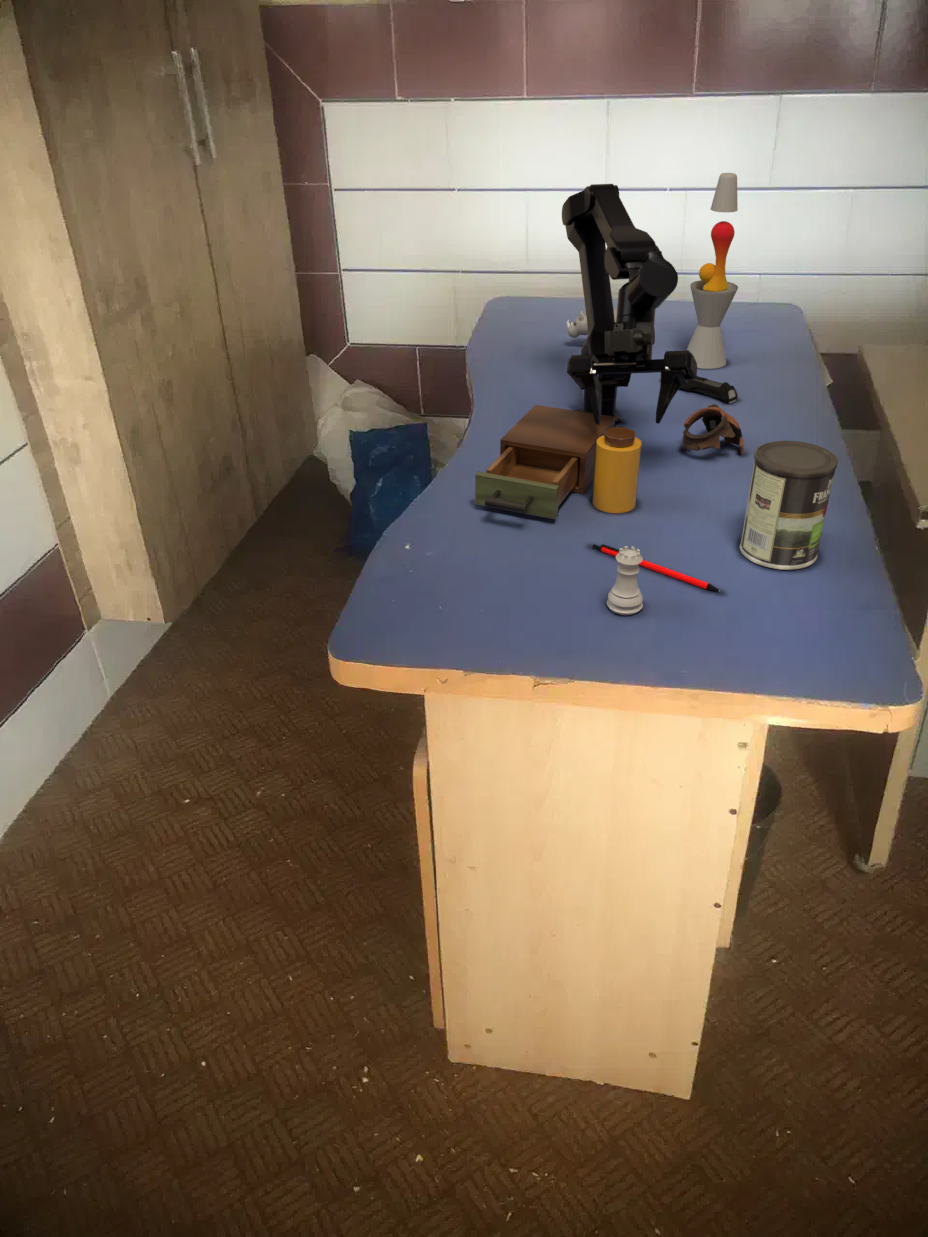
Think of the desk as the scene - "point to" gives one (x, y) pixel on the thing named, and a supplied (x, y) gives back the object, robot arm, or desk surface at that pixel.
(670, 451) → the desk surface
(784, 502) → the coffee can
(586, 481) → the cabinet
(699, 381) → the black flashlight
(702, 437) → the pottery mug
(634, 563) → the rook chess piece
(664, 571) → the pen
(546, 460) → the drawer
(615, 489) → the bottle
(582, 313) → the round bodied animal figurine
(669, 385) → the robot arm
